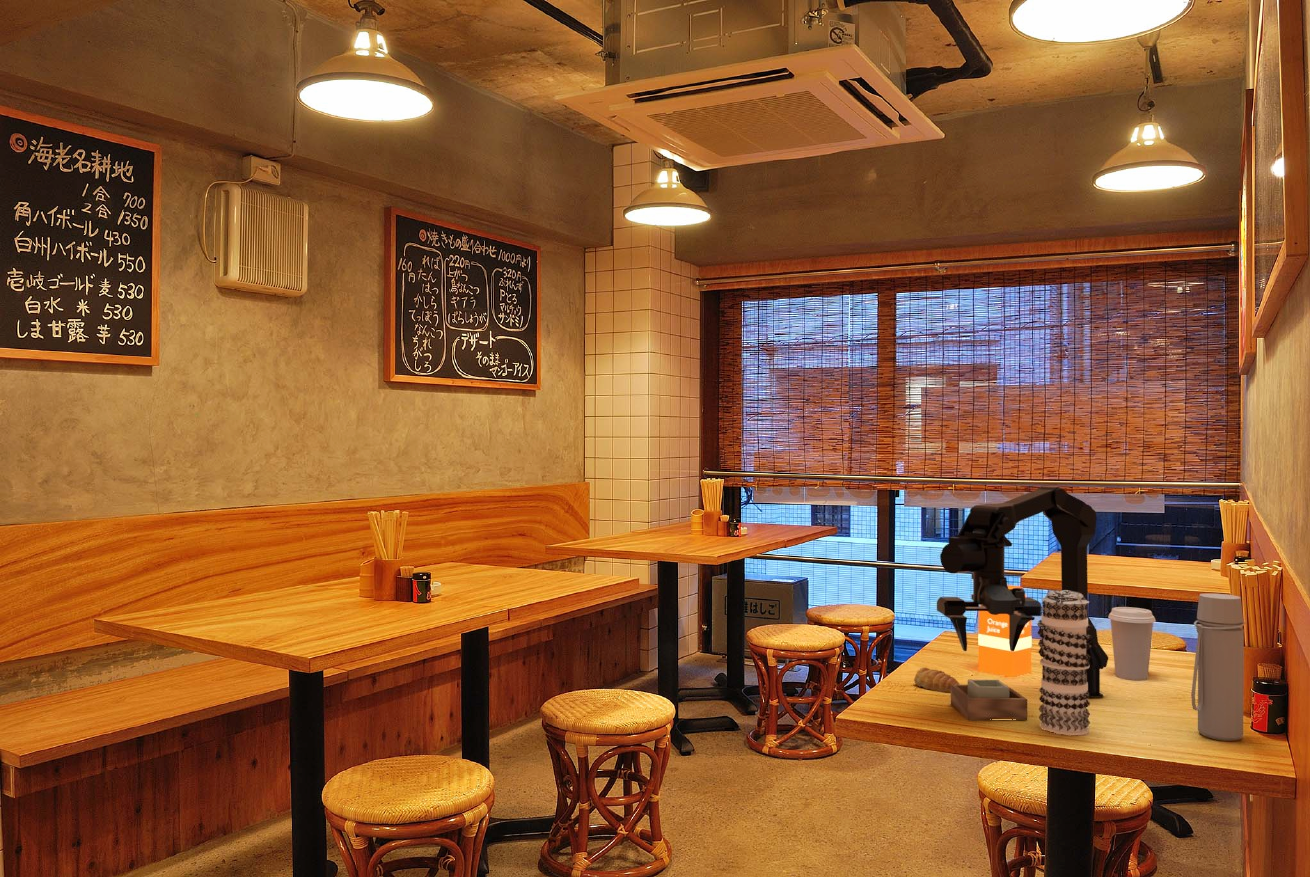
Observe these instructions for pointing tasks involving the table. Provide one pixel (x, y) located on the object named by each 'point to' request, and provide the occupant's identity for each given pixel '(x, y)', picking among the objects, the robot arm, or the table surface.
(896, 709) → the table surface
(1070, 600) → the decorative candle
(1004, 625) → the orange juice
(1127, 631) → the coffee cup
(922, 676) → the pastry
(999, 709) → the big crate
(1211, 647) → the water bottle
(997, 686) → the small crate
